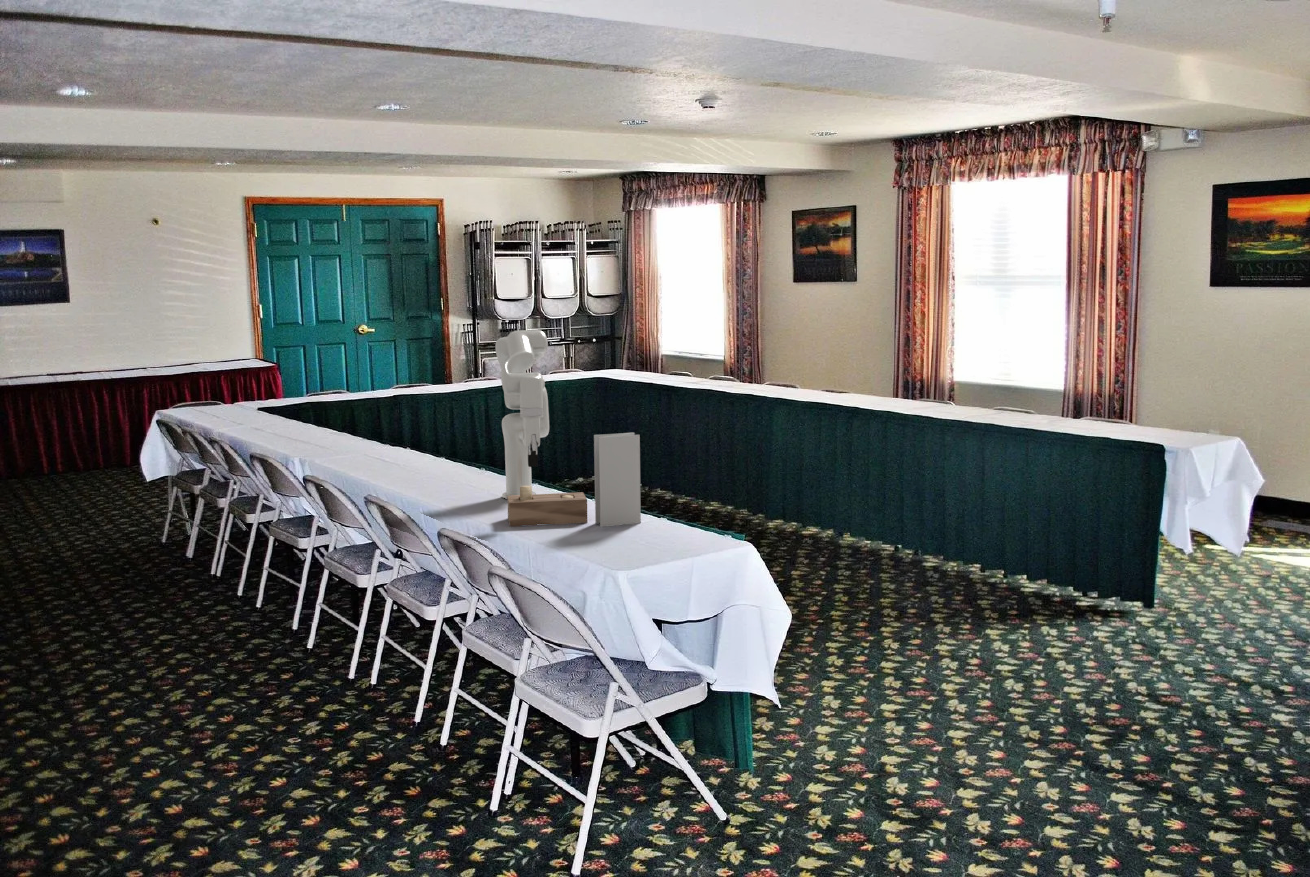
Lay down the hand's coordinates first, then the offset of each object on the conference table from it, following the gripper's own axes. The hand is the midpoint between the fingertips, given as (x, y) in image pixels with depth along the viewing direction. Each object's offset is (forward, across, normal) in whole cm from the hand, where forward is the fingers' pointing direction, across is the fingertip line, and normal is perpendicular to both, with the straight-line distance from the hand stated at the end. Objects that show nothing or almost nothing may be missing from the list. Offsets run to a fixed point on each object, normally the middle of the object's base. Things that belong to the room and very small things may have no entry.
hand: (533, 466), depth 370 cm
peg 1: (+15, 0, -3) cm, 15 cm away
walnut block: (+19, 0, +4) cm, 20 cm away
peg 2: (+19, 0, +11) cm, 22 cm away
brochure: (+19, +10, +27) cm, 35 cm away
